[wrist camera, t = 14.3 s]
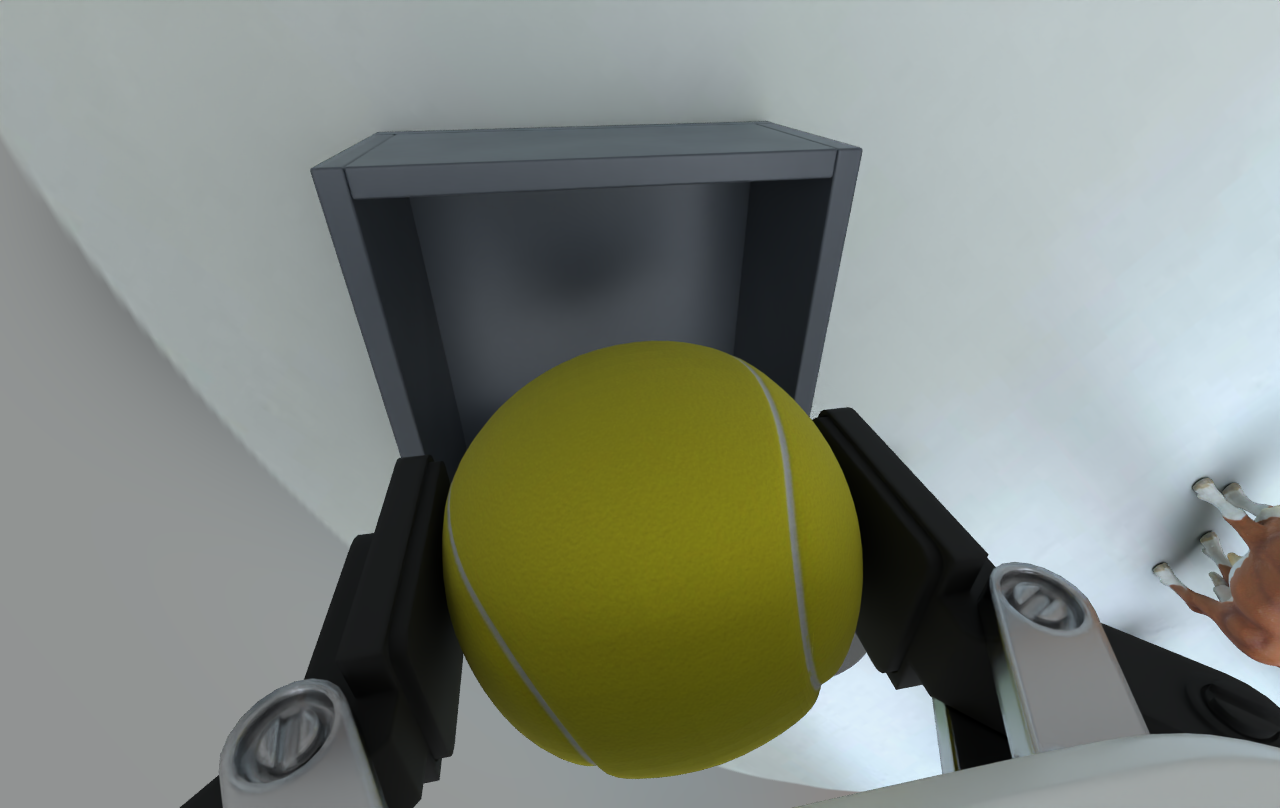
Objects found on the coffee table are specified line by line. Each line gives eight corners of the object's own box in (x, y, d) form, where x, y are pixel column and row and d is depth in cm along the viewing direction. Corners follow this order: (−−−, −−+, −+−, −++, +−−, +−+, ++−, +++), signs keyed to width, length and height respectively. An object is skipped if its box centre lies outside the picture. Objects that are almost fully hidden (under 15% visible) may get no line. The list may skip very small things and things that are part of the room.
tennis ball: (543, 568, 15) (556, 902, 9) (400, 359, 11) (259, 715, 5) (785, 479, 15) (958, 760, 9) (730, 232, 11) (981, 448, 5)
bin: (455, 455, 21) (436, 571, 16) (375, 132, 15) (308, 168, 10) (734, 424, 22) (789, 520, 18) (767, 121, 16) (864, 147, 12)
